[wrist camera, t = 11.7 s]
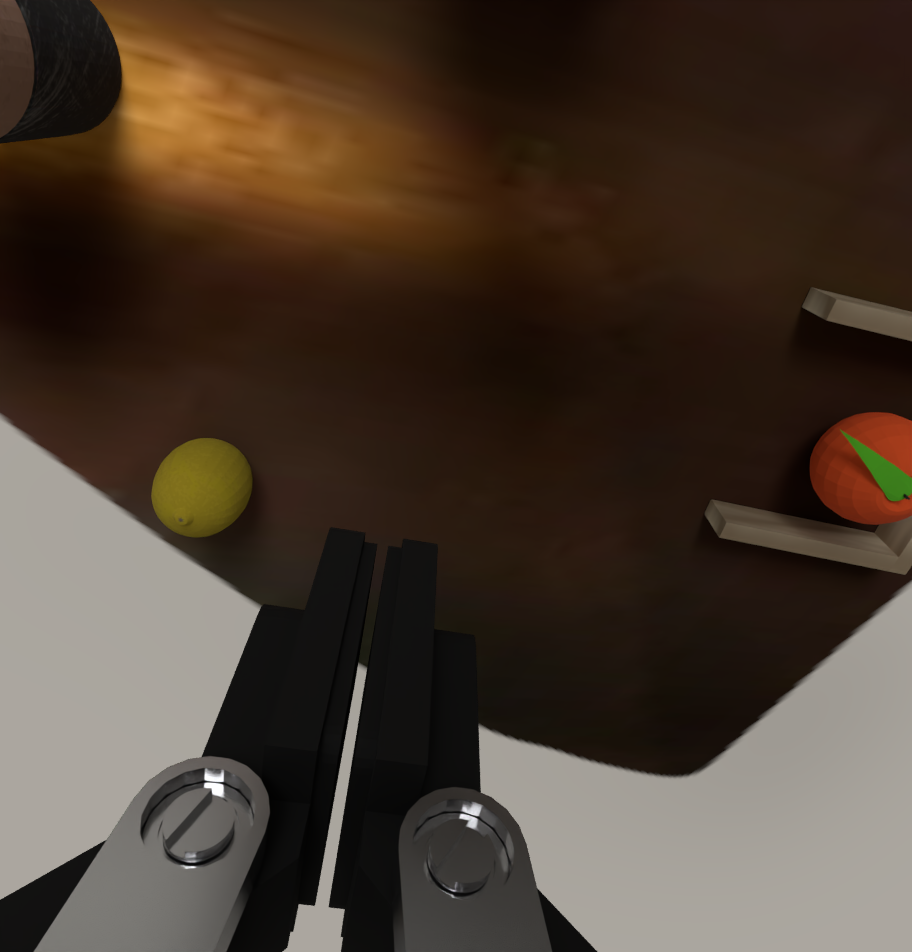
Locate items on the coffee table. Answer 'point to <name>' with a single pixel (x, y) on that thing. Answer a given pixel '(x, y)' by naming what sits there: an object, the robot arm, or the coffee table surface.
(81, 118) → the travel mug
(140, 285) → the coffee table surface
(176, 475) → the lemon
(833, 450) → the clementine
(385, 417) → the coffee table surface
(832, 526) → the corral
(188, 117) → the coffee table surface
